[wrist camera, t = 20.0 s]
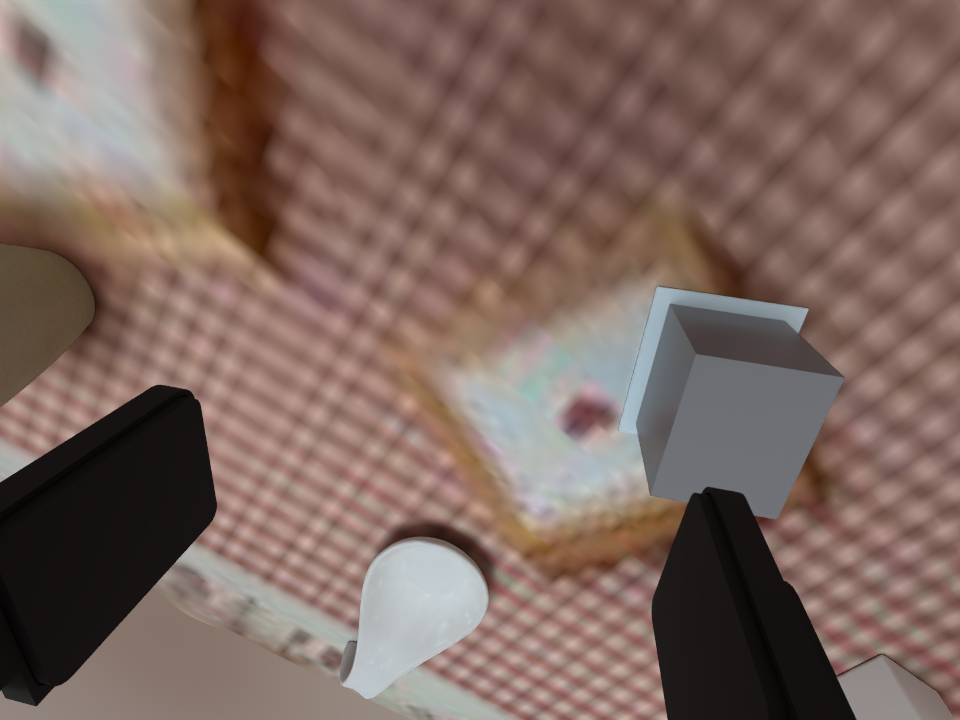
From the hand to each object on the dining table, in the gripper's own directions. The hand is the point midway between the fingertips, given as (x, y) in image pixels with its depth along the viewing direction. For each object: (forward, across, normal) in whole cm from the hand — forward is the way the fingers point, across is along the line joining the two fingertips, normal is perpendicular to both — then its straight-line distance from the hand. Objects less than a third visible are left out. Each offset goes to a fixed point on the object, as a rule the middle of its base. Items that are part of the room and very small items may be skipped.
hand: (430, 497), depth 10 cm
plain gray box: (+28, -14, +9) cm, 33 cm away
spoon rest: (+29, +7, +40) cm, 50 cm away
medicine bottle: (+28, -38, +38) cm, 61 cm away
